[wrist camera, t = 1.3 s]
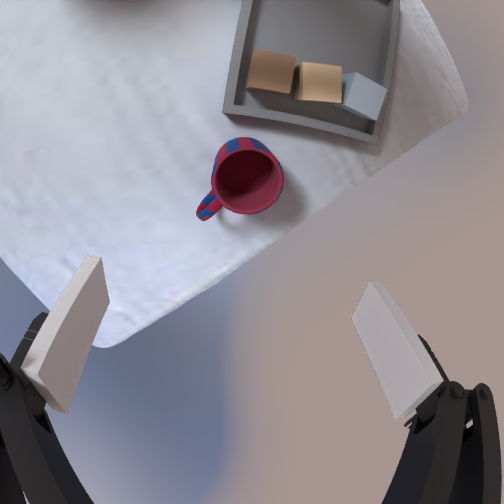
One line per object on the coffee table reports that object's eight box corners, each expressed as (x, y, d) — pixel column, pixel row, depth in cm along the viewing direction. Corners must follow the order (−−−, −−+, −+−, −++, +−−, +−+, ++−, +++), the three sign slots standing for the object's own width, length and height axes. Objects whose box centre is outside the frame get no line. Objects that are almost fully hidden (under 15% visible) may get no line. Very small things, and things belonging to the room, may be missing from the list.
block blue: (341, 74, 24) (356, 72, 21) (369, 89, 25) (387, 89, 22) (331, 104, 26) (345, 104, 23) (360, 117, 27) (376, 120, 24)
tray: (253, -43, 16) (255, -51, 14) (391, -1, 18) (400, -4, 17) (222, 112, 27) (222, 112, 25) (369, 142, 29) (377, 145, 28)
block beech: (293, 66, 24) (302, 61, 20) (327, 70, 24) (341, 66, 21) (293, 100, 26) (303, 99, 23) (327, 102, 26) (341, 103, 23)
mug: (283, 172, 31) (296, 190, 25) (214, 217, 33) (211, 244, 27) (251, 125, 28) (258, 131, 22) (180, 175, 30) (169, 194, 24)
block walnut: (251, 55, 23) (254, 48, 20) (287, 62, 24) (296, 56, 20) (245, 88, 25) (247, 86, 22) (281, 94, 26) (289, 93, 22)
